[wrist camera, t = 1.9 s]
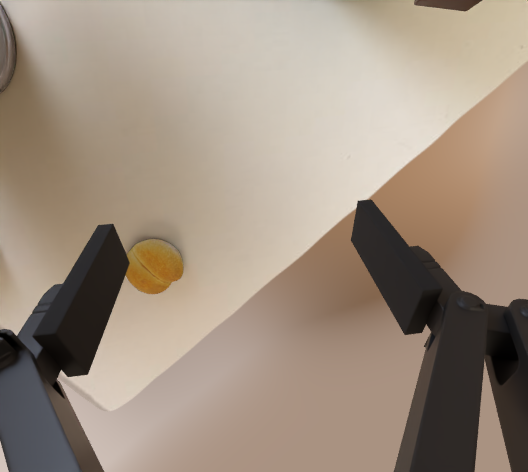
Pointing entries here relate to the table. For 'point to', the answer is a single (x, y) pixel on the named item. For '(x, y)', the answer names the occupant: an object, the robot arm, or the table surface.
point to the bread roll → (153, 266)
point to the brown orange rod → (448, 4)
